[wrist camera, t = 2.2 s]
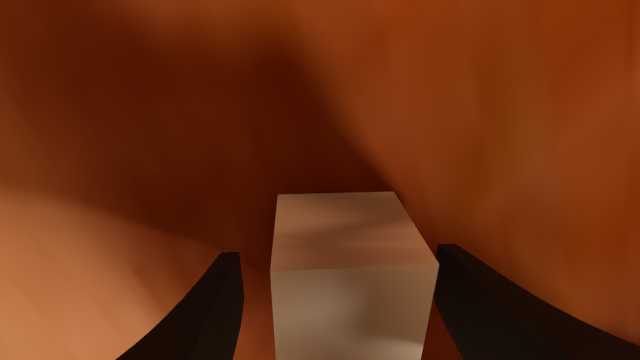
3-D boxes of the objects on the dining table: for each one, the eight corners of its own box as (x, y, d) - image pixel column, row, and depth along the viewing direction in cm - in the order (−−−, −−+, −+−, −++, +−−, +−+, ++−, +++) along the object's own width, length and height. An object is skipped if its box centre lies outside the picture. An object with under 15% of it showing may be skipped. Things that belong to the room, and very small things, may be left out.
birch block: (393, 190, 13) (438, 264, 9) (383, 280, 15) (417, 376, 11) (277, 193, 13) (269, 271, 8) (282, 284, 14) (278, 385, 10)
